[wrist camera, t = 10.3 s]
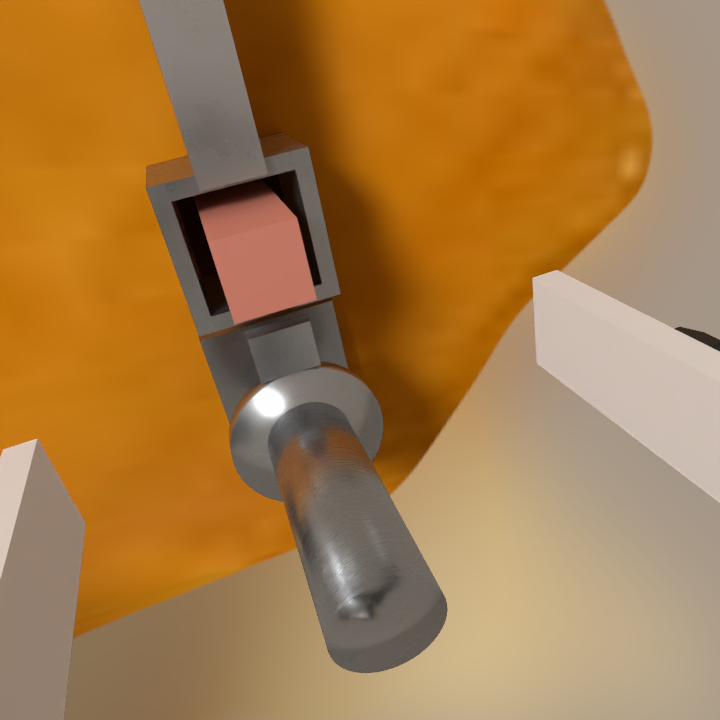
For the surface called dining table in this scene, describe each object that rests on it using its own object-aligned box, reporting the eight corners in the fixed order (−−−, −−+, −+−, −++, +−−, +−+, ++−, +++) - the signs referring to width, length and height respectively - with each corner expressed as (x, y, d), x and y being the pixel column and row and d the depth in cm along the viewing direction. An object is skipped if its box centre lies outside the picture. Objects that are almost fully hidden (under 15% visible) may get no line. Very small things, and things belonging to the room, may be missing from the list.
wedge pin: (213, 256, 34) (234, 324, 25) (192, 192, 32) (207, 242, 23) (275, 238, 34) (316, 299, 26) (258, 175, 32) (296, 217, 24)
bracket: (192, 294, 34) (200, 340, 29) (37, -143, 25) (4, -201, 19) (313, 259, 35) (343, 297, 30) (211, -170, 26) (228, -232, 20)
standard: (237, 441, 39) (304, 738, 22) (185, 296, 34) (220, 537, 17) (353, 402, 41) (500, 653, 24) (319, 257, 35) (476, 444, 18)
